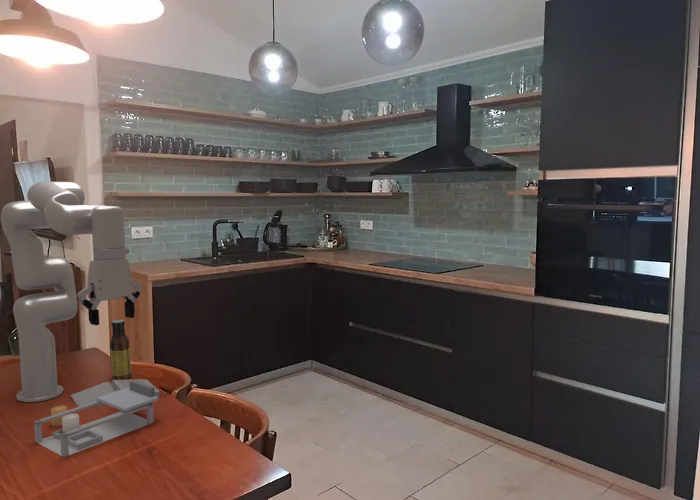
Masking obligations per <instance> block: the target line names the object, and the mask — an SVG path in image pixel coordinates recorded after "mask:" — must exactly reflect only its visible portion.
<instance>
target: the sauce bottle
mask: <svg viewBox="0 0 700 500" xmlns="http://www.w3.org/2000/svg"><path fill="white" fill-rule="evenodd" d="M125 325H126V323H125V319H115V320H112V321H111V327H112V334H111V339H110V342H109V355H110V367H111V368H110V369H111V370H110V371H111V377H112V380H128V379H129V378H131V377H132V361H131V360H132V359H131V348H130V339H129V337H128V336H127V334H126V332H125V331H126V329H125Z"/></svg>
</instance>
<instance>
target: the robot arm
mask: <svg viewBox="0 0 700 500" xmlns="http://www.w3.org/2000/svg"><path fill="white" fill-rule="evenodd" d="M26 195H27V200H19V201H12V202H9V203H7V204H5V205H4V206H3V207H2V209H1V212H0V221H1V222H0V223H1V227H2V230H3V233H4V235H5V237H6V239H7V242H8V244H9V247H10V253H11V260H12V268H13V275H14V280H15V284H16V286H17V287H18V289H20V290H23V291H34V290H35V291H36V290H43V289H50V288H54V291H50V292H42V293H41V292H40V293H33V294H28V295H24V296H21V297H20V298H18V299H16V300H15V302H14V304H13V307H12V314H13V317H14V321H15V325H16V327H17V328H16V330H17V335H18V337H17V338H18V349H19V361H20V377H21V382H20V383H21V390H19V392H18V393H16V400H17V401H19V402H23V403H35V402H42V401H47V400H51V399H53V398H54V399H55V398H57V397H59V396H61V395H62V394H63V392H64V387H63V386H62V385H60V384H58V373H57V371H58V369H57V354H56V338H55V336H54V334H53V333H52V331H50V330H49V329H48V327H46V325H47V324H53V323H58V322H63V321H67V320H71V319H73V318H74V317H75V316H76V314H77V312H78V300H79V301H80V304H81V305H83V306H84V307H85V309H86V310H87V311H88V321H89V324H90V325H93V326H100V310H99V309H98V307H99V305H100V303H101V302H104V301H112V300H115V299H116V300H117V299H124V300H125V301H124V316H125V317H126V318H131V319H134V318H135V313H136V311H135V310H136V308H135V303H137V299H138V298H139V297H140V296H141V291H142V289H143V284H142V283H139V282H137V281H134V280H133V278H132V277H133V276H132V272H131V266H130V262H129V259H128V258H126V257H127V255H128V254H130V249H129V248H126V240H125V239H126V237H125V217H124V216H125V215H124V210H123V208H122V207H121V206H117V205H116V206H115V205H105V204H104V205H103V204H94V205H93V204H92V205H91V204H85V200H86V199H85V192H84V190H83V188H82V187H81V186H80V185H79V184H77V183H75V182H73V181H40V182H36V183H34V184H32V185H30V187H29V188H28V190H27V194H26ZM40 229H41V230H42V229H52V230H53V231H54V232H57V233H59V234H61V235H64V236H79V235H91V237H92V239H91V240H92V255H93V259H92V260H91V261H89V265H88V271H87V272H88V273H87V286H86V287H84V288H83V289H81V290H80V291H79V292H77V291H76V284H75V276H74V270H73V267H72V265H71V263H70V262H69V260H68V259H67V258H65V257H63V256H48V257H47V256H45V252H44V245H43V242H42V240H41V239H40V238H39V237H38V235H37V234H35V232H33V231H32V230H40ZM133 288H134V290H133ZM87 297H88V299H87ZM77 298H78V299H77Z"/></svg>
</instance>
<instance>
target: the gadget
mask: <svg viewBox="0 0 700 500" xmlns="http://www.w3.org/2000/svg"><path fill="white" fill-rule="evenodd" d="M132 380H134V381H137V382H140V383H143V384H146V385H149V386H152V387H154V389H155V396H157V397H160V396H161V391H159V390H158V388H156V387H155V386H154V385H153V383H151V382H150V381H149V380H148V379H145V378H144V379H124V380H115V379H111V382H109V381H104V382H101V383H99V384H96V385H94V386H91V387H89V388H86V389H83V390H80V391H79V392H78V391H77V392H76V393H72V394H71V395H70V396H71V397H70V398H71V399H72V400H73V402H74V405H77V407H80V406H83V405H86V404H90V403H93V402H96V401H97V399H96V398H97V397H100V396H103V395H107V394H110V393H113V392H116V391H119V390H122V389H126V388H129V381H132ZM101 406H107V405H106V404H104V403H102V404H99V405H96V406H93V407H89V408H86V409H90V408H96V407H101ZM86 409H85V410H86Z"/></svg>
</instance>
